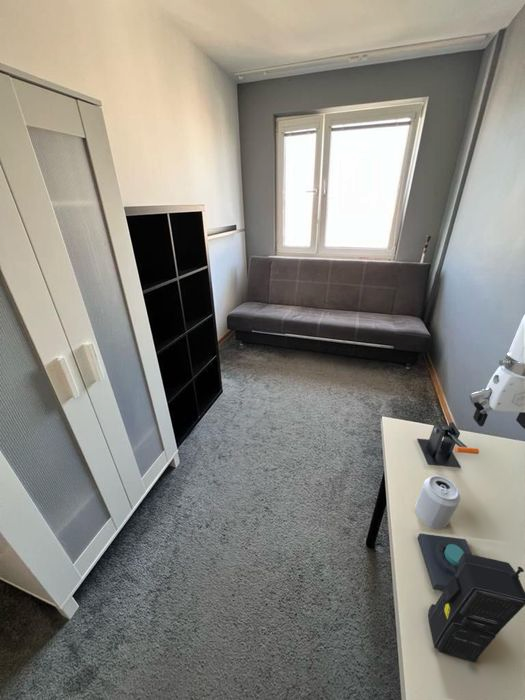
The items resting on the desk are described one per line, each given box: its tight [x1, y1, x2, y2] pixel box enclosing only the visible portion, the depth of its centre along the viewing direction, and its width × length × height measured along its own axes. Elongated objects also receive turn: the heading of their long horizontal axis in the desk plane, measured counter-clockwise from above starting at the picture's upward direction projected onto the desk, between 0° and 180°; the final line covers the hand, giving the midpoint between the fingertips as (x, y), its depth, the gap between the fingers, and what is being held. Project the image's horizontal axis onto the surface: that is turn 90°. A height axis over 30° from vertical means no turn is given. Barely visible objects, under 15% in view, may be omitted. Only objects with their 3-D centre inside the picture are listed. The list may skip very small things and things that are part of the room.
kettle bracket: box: [416, 420, 461, 469], centre depth 85 cm, size 10×9×12 cm
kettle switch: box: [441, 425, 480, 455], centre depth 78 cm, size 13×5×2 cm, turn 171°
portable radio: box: [427, 553, 525, 663], centre depth 46 cm, size 8×6×25 cm
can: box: [414, 475, 461, 530], centre depth 68 cm, size 8×8×12 cm
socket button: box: [444, 544, 464, 567], centre depth 60 cm, size 4×4×2 cm
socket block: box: [417, 533, 473, 591], centre depth 61 cm, size 10×10×4 cm
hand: (499, 423), depth 69 cm, fingers open, 9 cm apart
